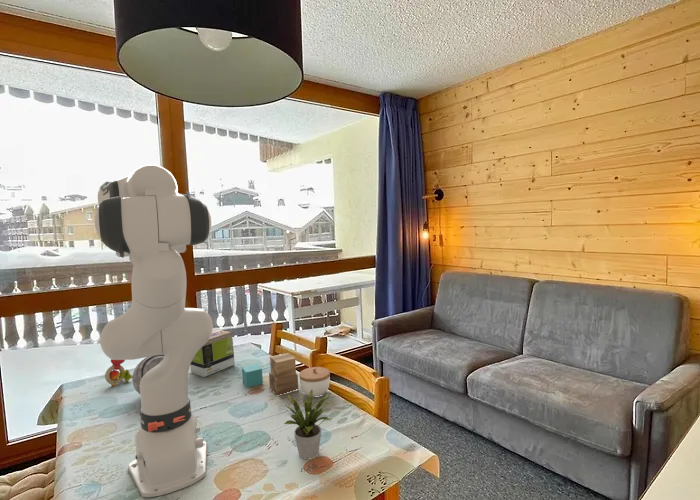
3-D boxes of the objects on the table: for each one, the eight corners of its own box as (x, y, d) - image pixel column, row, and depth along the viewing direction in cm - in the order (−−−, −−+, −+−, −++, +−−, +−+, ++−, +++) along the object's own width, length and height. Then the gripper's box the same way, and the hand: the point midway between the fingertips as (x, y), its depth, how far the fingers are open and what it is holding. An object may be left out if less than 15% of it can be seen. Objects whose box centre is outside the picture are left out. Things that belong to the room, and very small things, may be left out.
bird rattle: (119, 392, 149) (138, 374, 156) (105, 370, 144) (125, 353, 152) (109, 389, 152) (128, 372, 159) (94, 368, 147) (115, 352, 154)
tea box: (220, 361, 173) (218, 328, 172) (235, 365, 167) (233, 331, 166) (189, 372, 161) (187, 337, 160) (204, 377, 155) (201, 341, 154)
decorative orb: (146, 409, 130) (142, 365, 129) (126, 398, 139) (122, 357, 137) (187, 392, 142) (184, 352, 140) (167, 383, 150) (164, 345, 149)
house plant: (344, 466, 97) (342, 402, 95) (288, 478, 93) (285, 412, 92) (331, 435, 110) (328, 380, 109) (281, 445, 106) (278, 387, 105)
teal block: (262, 384, 147) (262, 368, 147) (247, 388, 144) (246, 372, 144) (258, 378, 152) (257, 363, 152) (242, 382, 149) (241, 367, 149)
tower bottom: (298, 390, 140) (297, 374, 140) (277, 396, 137) (276, 379, 136) (290, 383, 147) (289, 367, 147) (269, 388, 143) (268, 372, 143)
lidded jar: (314, 404, 130) (313, 376, 129) (293, 395, 137) (292, 369, 136) (337, 392, 138) (336, 367, 137) (316, 384, 145) (315, 360, 144)
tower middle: (296, 374, 140) (295, 358, 140) (277, 379, 137) (276, 362, 136) (288, 368, 146) (288, 352, 146) (270, 372, 143) (269, 356, 142)
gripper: (112, 227, 117) (116, 273, 118) (185, 224, 128) (188, 266, 129) (112, 227, 123) (116, 270, 124) (182, 224, 133) (185, 265, 134)
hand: (153, 268), depth 126 cm, fingers open, 8 cm apart
